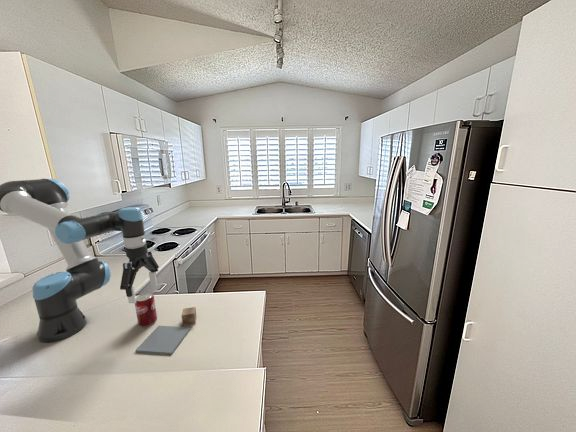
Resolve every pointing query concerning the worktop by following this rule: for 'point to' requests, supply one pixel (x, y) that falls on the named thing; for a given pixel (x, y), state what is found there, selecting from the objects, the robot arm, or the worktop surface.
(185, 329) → the coaster
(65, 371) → the worktop surface
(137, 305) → the soda can
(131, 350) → the worktop surface
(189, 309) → the walnut block
